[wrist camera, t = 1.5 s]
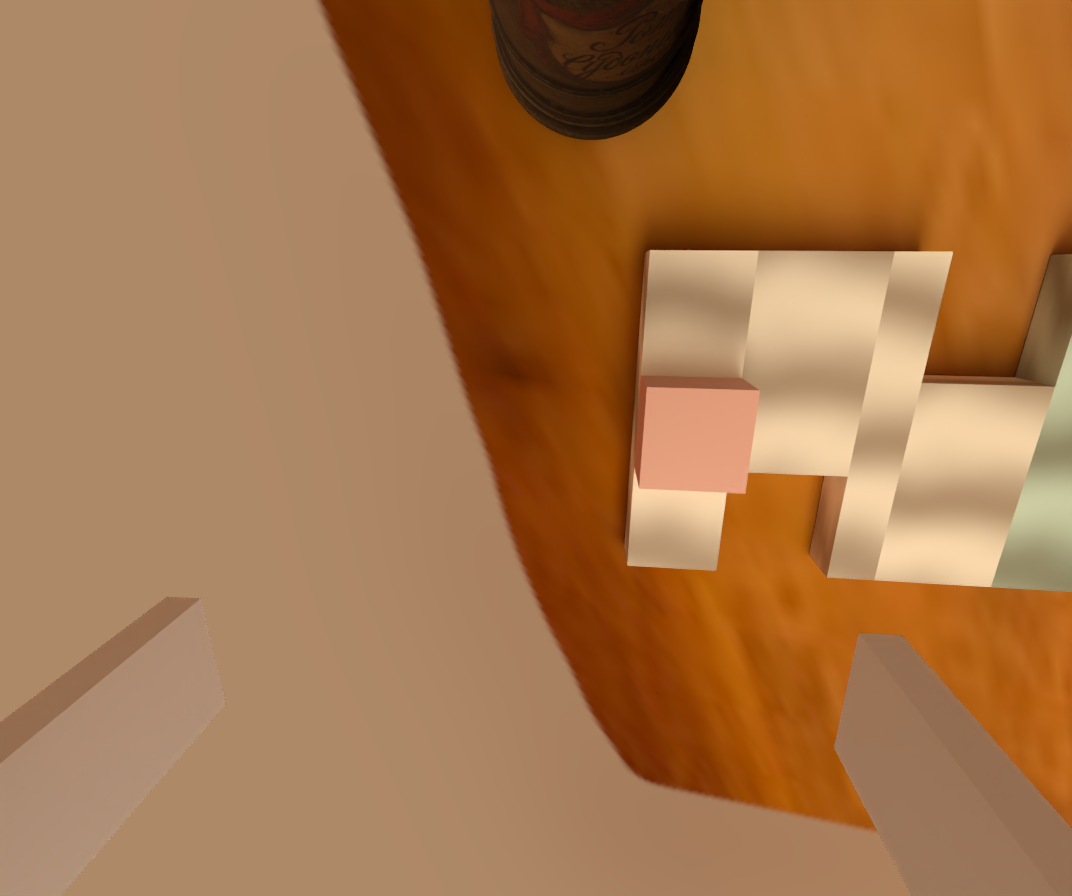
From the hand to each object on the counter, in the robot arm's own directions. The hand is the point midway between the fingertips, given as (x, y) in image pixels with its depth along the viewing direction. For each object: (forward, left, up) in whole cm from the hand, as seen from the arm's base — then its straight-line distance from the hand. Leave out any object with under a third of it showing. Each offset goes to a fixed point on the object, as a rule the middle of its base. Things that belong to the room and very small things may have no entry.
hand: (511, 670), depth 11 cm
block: (0, +7, -18) cm, 19 cm away
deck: (0, +16, -21) cm, 26 cm away
